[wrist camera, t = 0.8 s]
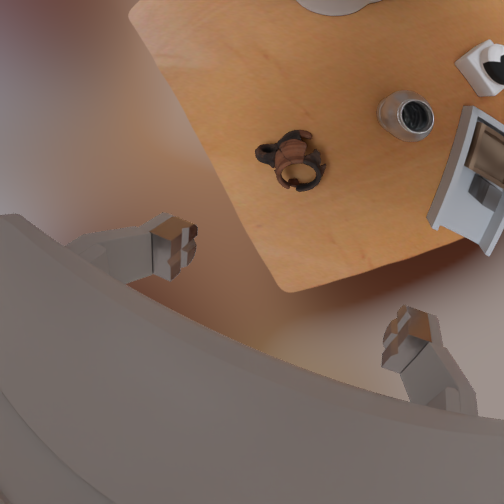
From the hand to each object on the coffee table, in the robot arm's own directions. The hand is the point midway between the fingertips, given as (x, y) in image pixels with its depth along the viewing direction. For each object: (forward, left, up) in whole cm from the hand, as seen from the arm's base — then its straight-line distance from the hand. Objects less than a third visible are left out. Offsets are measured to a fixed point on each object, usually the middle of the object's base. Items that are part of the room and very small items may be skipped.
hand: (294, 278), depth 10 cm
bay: (-4, +25, -41) cm, 48 cm away
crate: (-7, +25, -39) cm, 47 cm away
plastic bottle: (-8, +6, -41) cm, 42 cm away
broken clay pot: (+5, -9, -41) cm, 42 cm away
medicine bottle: (-23, +19, -41) cm, 50 cm away
